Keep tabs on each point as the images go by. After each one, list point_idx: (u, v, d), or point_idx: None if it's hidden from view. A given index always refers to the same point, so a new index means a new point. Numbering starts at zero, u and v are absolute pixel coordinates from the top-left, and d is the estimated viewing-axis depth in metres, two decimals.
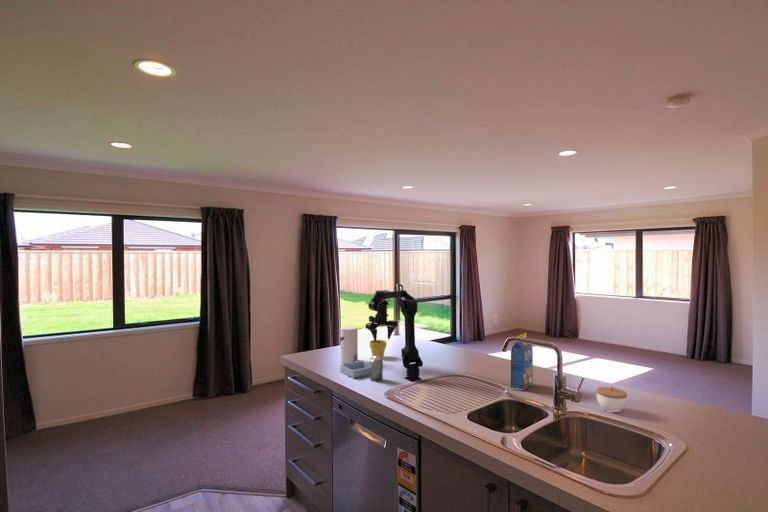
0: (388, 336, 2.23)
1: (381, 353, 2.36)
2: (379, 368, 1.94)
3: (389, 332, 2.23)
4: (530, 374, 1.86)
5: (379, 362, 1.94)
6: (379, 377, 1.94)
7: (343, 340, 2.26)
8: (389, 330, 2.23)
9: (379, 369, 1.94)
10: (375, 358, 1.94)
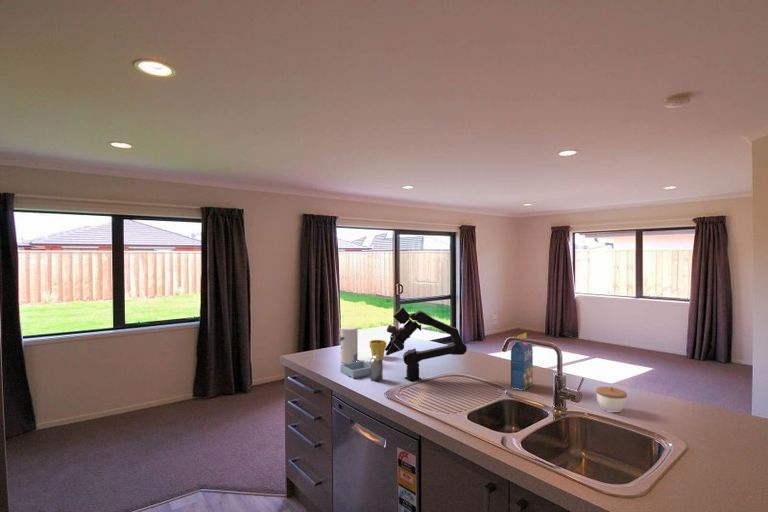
0: (387, 348, 2.02)
1: (381, 353, 2.36)
2: (379, 368, 1.94)
3: (391, 346, 2.02)
4: (530, 374, 1.86)
5: (379, 362, 1.94)
6: (379, 377, 1.94)
7: (343, 340, 2.26)
8: None
9: (379, 369, 1.94)
10: (375, 358, 1.94)
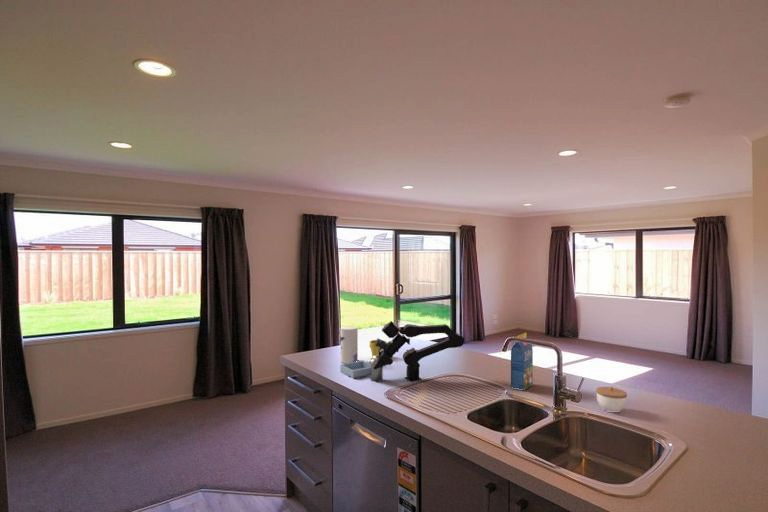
0: None
1: None
2: (379, 368, 1.94)
3: None
4: (530, 374, 1.86)
5: None
6: (379, 377, 1.94)
7: (343, 340, 2.26)
8: None
9: (379, 369, 1.94)
10: (375, 358, 1.94)
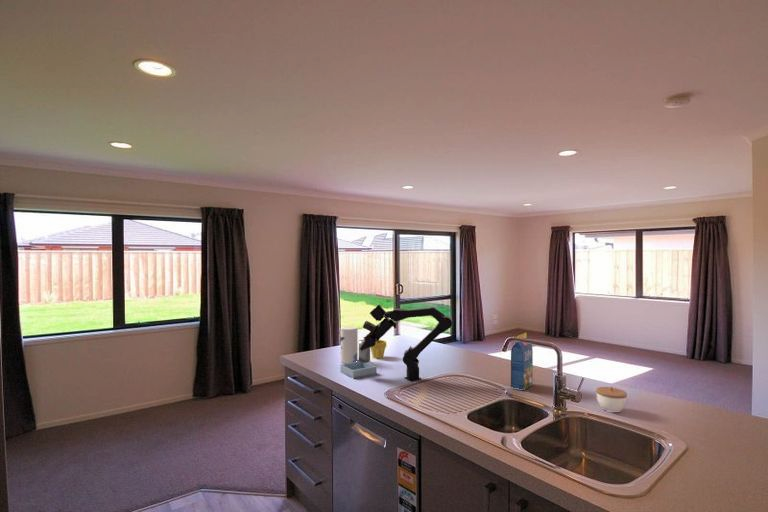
0: None
1: (381, 353, 2.36)
2: (365, 349, 1.99)
3: None
4: (530, 374, 1.86)
5: None
6: (365, 358, 1.99)
7: (343, 340, 2.26)
8: None
9: (366, 350, 1.99)
10: (362, 339, 2.00)
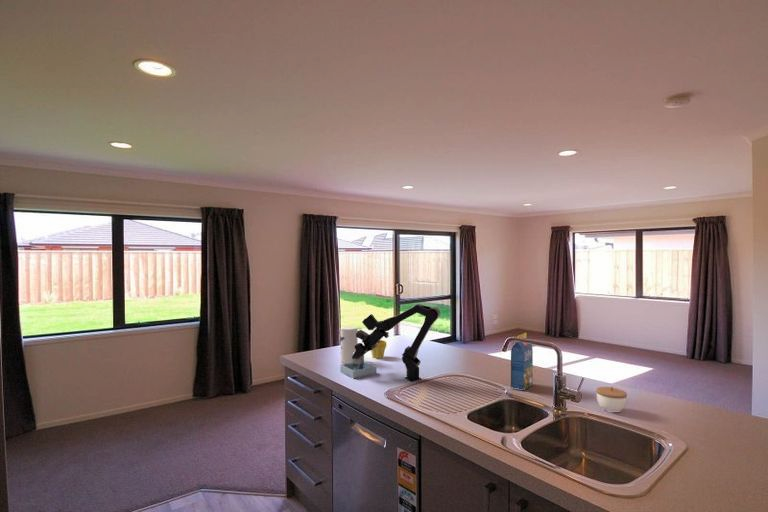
0: None
1: (381, 353, 2.36)
2: (358, 360, 2.04)
3: None
4: (530, 374, 1.86)
5: None
6: (358, 369, 2.04)
7: (343, 340, 2.26)
8: None
9: (358, 361, 2.04)
10: None
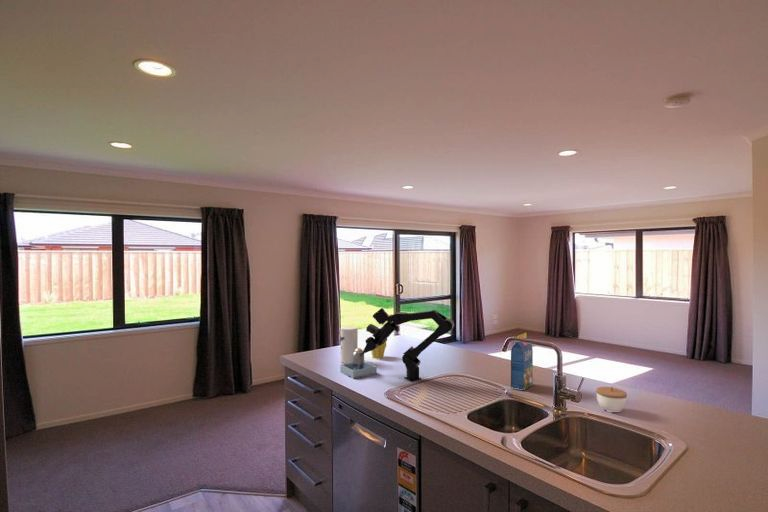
0: None
1: (381, 353, 2.36)
2: (358, 360, 2.04)
3: None
4: (530, 374, 1.86)
5: (358, 355, 2.04)
6: (358, 369, 2.04)
7: (343, 340, 2.26)
8: None
9: (359, 361, 2.04)
10: (355, 351, 2.06)
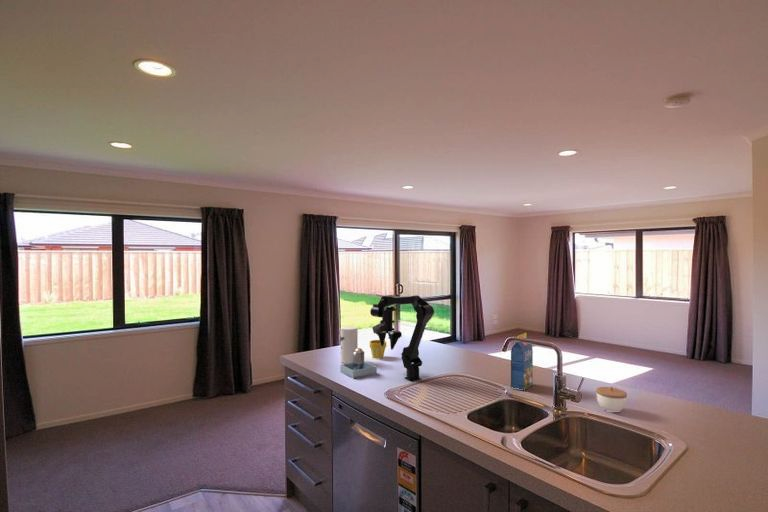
0: (382, 343, 2.13)
1: (381, 353, 2.36)
2: (358, 360, 2.04)
3: (383, 338, 2.14)
4: (530, 374, 1.86)
5: (358, 355, 2.04)
6: (358, 369, 2.04)
7: (343, 340, 2.26)
8: (382, 336, 2.14)
9: (359, 361, 2.04)
10: (356, 350, 2.06)
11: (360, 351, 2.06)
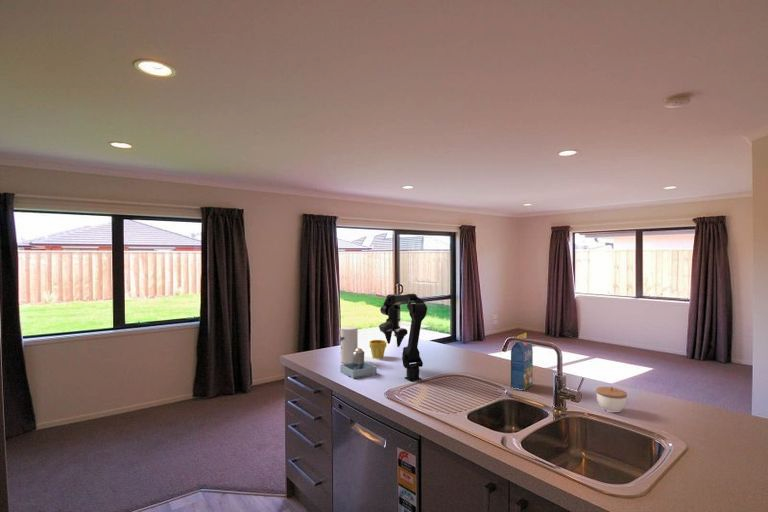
0: (388, 341, 2.19)
1: (381, 353, 2.36)
2: (358, 360, 2.04)
3: (389, 336, 2.20)
4: (530, 374, 1.86)
5: (358, 355, 2.04)
6: (358, 369, 2.04)
7: (343, 340, 2.26)
8: (389, 334, 2.20)
9: (359, 361, 2.04)
10: (356, 351, 2.06)
11: (360, 351, 2.05)
